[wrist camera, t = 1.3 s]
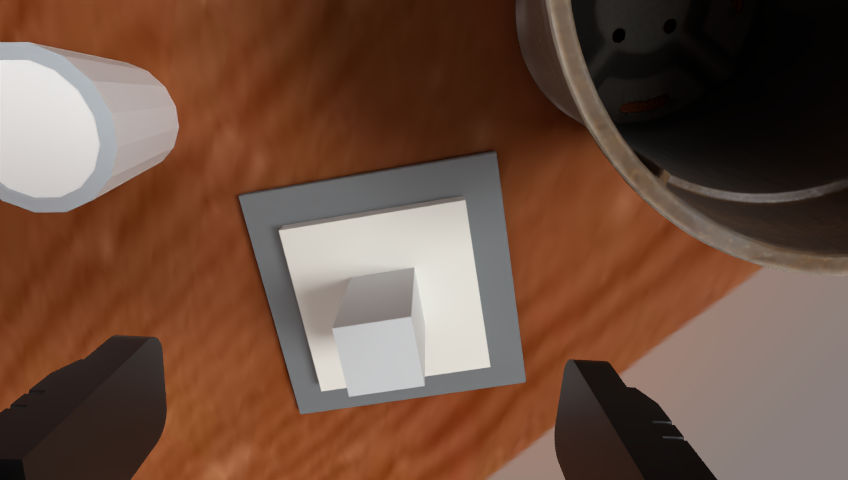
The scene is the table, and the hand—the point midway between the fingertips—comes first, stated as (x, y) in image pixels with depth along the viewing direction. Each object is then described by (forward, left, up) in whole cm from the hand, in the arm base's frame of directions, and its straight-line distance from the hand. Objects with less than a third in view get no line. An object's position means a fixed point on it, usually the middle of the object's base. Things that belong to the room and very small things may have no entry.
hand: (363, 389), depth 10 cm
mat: (+2, +6, -19) cm, 20 cm away
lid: (+2, +6, -19) cm, 20 cm away
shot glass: (+14, -6, -19) cm, 25 cm away
